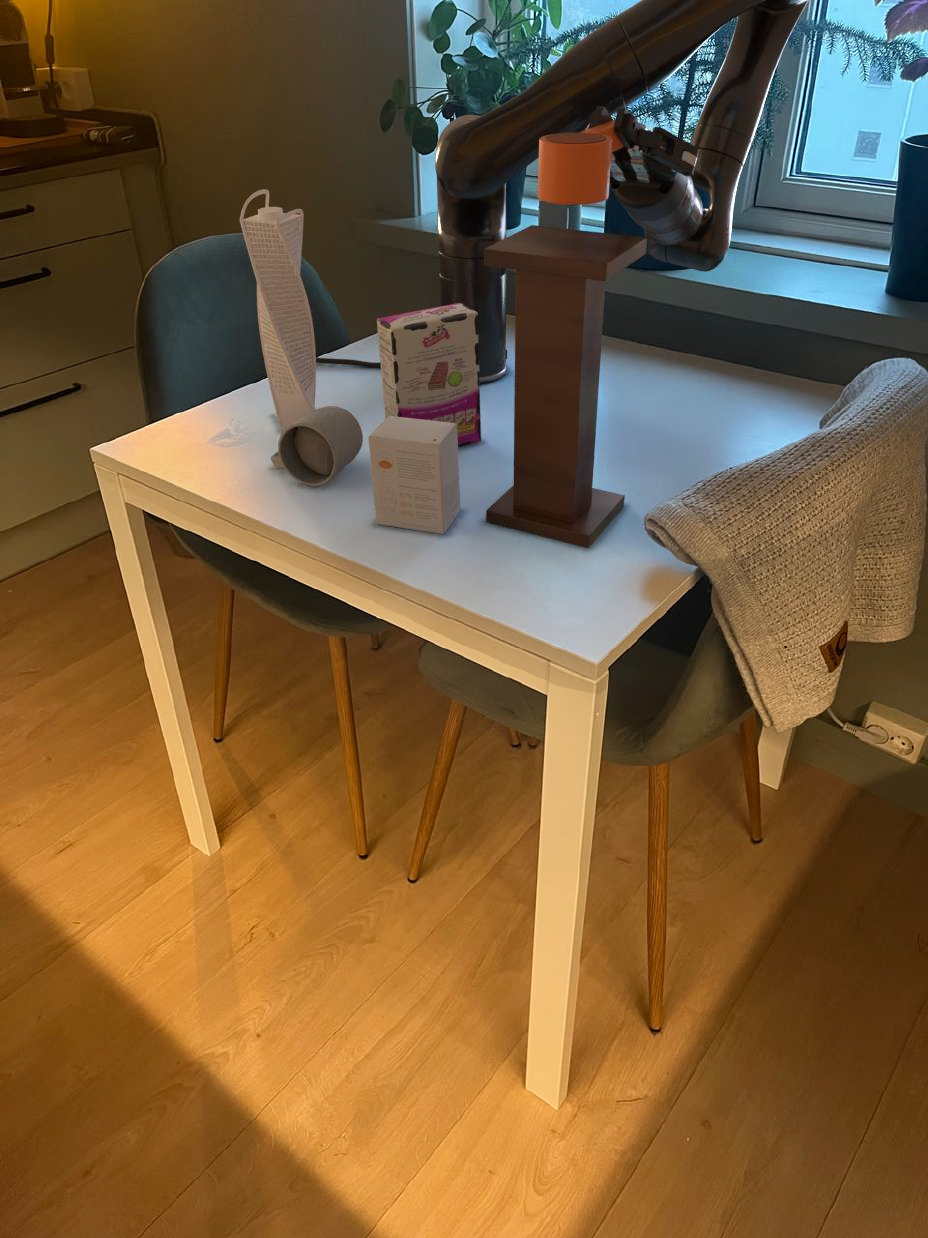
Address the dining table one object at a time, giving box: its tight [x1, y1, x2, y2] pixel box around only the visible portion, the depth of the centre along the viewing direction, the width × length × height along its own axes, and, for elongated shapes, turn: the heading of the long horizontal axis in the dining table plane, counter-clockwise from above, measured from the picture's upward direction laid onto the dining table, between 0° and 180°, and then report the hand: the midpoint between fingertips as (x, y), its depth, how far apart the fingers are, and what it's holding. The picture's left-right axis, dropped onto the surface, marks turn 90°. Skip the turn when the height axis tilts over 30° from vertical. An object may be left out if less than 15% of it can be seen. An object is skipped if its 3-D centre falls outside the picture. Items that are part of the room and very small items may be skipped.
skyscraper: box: [239, 188, 317, 433], centre depth 119 cm, size 8×7×28 cm
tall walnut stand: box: [484, 224, 647, 549], centre depth 97 cm, size 10×12×28 cm
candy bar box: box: [376, 303, 482, 448], centre depth 115 cm, size 11×5×16 cm, turn 117°
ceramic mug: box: [270, 405, 364, 487], centre depth 113 cm, size 11×8×8 cm
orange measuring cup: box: [537, 116, 638, 206], centre depth 89 cm, size 16×6×5 cm, turn 151°
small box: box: [367, 416, 462, 535], centre depth 102 cm, size 8×6×10 cm
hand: (608, 117), depth 89 cm, fingers closed on orange measuring cup
